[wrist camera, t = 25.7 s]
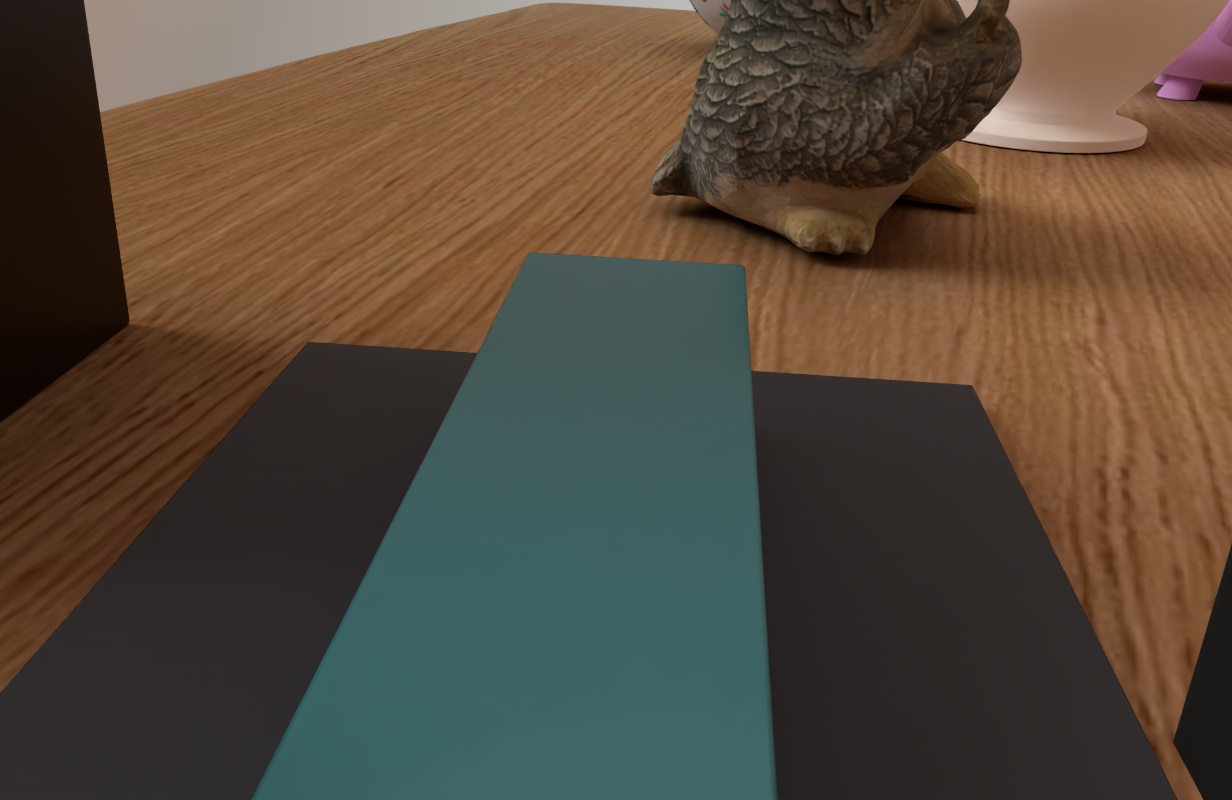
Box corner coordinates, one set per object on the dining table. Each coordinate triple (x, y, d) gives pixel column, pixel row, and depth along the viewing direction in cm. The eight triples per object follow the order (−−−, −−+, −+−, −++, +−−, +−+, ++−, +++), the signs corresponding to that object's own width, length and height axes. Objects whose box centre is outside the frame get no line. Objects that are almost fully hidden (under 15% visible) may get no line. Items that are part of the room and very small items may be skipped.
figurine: (1092, 283, 41) (1195, -192, 35) (684, 283, 40) (716, -216, 33) (947, 184, 54) (1004, -178, 48) (633, 180, 52) (650, -195, 46)
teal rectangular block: (756, 1744, 8) (74, 1652, 9) (731, 422, 28) (526, 408, 29) (819, 1436, 7) (-27, 1337, 7) (745, 264, 27) (527, 251, 27)
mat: (-805, 1686, 9) (-843, 1650, 8) (308, 361, 32) (307, 340, 32) (1744, 2046, 8) (1785, 2015, 7) (969, 404, 31) (972, 384, 31)
